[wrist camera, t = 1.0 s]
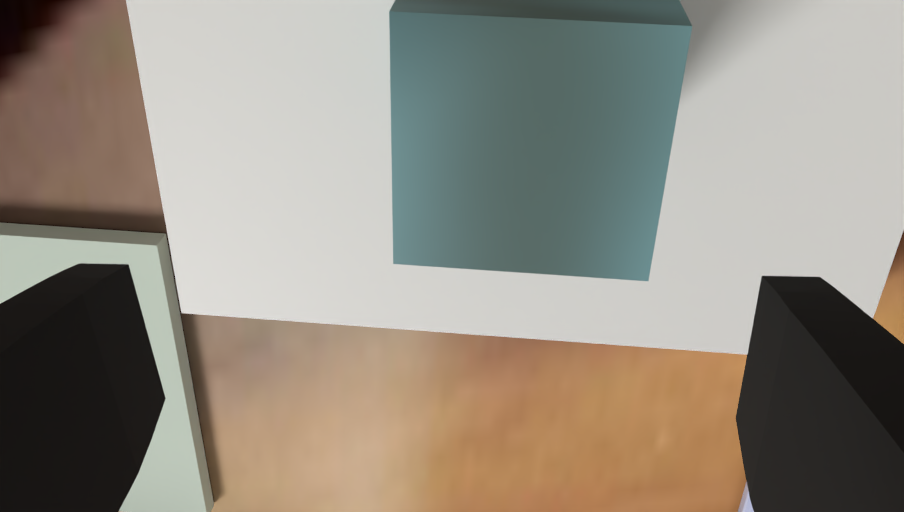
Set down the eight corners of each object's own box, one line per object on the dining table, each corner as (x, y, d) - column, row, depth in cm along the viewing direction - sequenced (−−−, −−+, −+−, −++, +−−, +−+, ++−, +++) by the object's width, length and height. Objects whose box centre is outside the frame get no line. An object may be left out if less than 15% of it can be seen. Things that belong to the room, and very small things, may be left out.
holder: (1052, -383, 14) (1121, -398, 12) (832, 312, 21) (857, 362, 20) (108, -399, 15) (52, -416, 13) (208, 268, 22) (181, 313, 21)
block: (640, -78, 17) (692, 25, 11) (615, 110, 19) (648, 281, 13) (441, -85, 17) (389, 11, 11) (438, 101, 19) (393, 264, 14)
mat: (166, 233, 22) (157, 245, 21) (213, 504, 27) (207, 518, 27) (-202, 209, 23) (-220, 220, 22) (-86, 478, 28) (-97, 492, 27)
